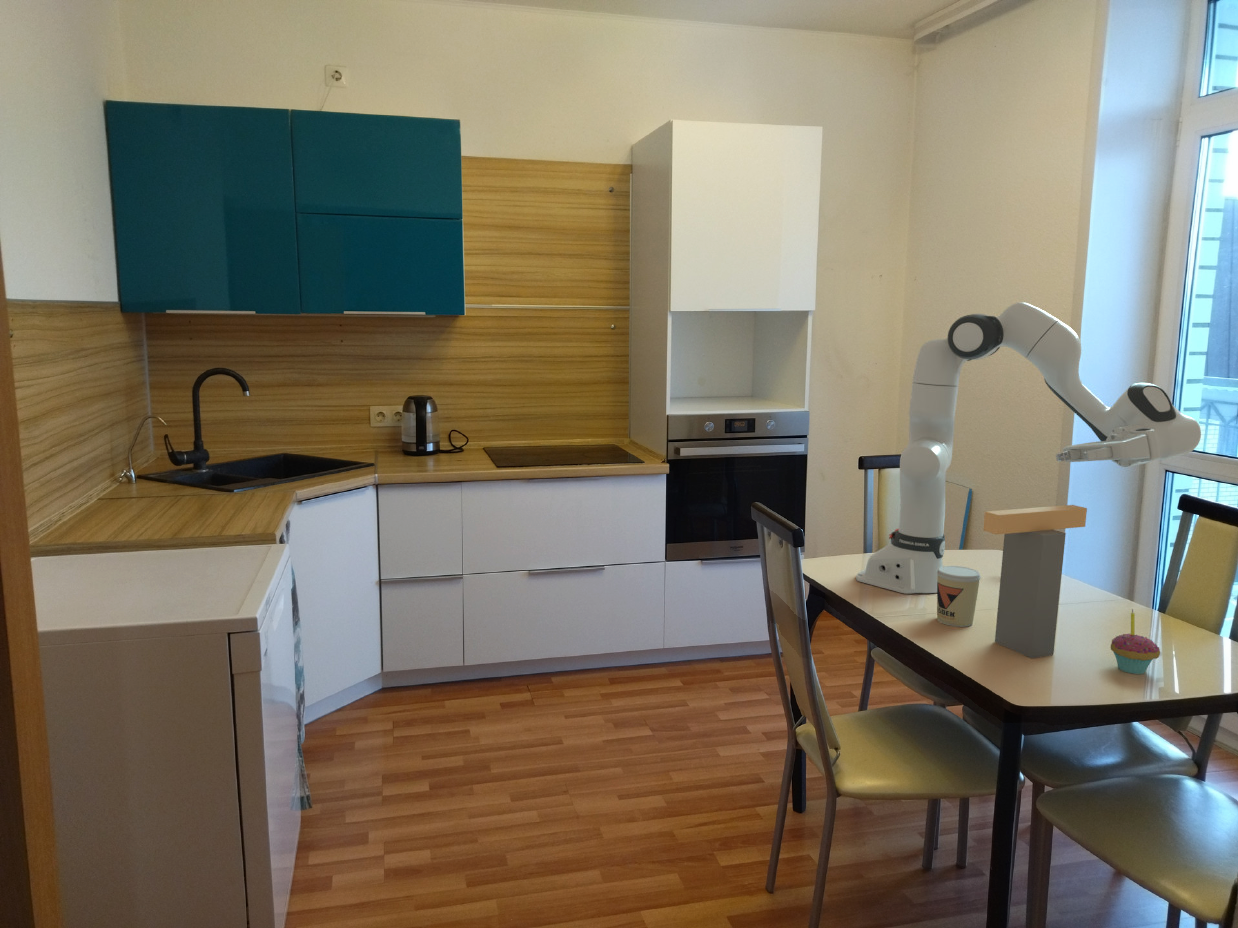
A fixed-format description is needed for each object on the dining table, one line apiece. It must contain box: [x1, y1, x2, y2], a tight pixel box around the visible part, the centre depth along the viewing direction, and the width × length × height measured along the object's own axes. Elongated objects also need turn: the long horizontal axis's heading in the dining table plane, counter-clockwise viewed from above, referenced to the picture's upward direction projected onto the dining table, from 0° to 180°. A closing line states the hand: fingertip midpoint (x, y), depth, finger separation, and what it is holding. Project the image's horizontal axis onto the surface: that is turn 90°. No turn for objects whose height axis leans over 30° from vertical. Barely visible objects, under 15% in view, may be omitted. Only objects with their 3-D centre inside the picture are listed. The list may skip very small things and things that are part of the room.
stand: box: [994, 529, 1067, 659], centre depth 186 cm, size 6×10×26 cm, turn 21°
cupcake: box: [1110, 608, 1161, 675], centre depth 176 cm, size 9×8×12 cm
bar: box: [982, 504, 1088, 536], centre depth 183 cm, size 24×4×4 cm, turn 111°
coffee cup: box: [936, 565, 982, 628], centre depth 204 cm, size 9×9×12 cm
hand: (1071, 456), depth 193 cm, fingers open, 8 cm apart
